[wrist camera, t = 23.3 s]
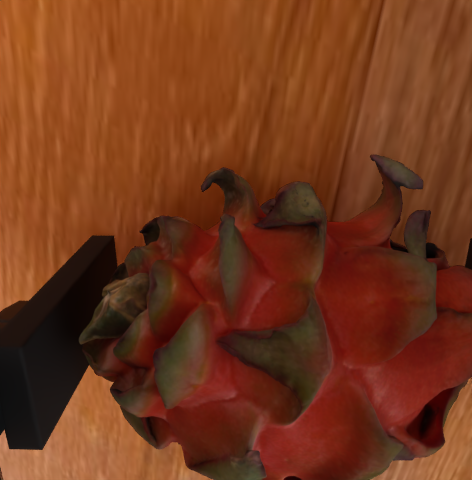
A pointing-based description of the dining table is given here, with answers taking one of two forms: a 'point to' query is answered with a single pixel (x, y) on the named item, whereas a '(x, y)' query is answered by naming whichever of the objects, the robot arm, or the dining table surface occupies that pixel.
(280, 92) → the dining table surface
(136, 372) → the dragon fruit
